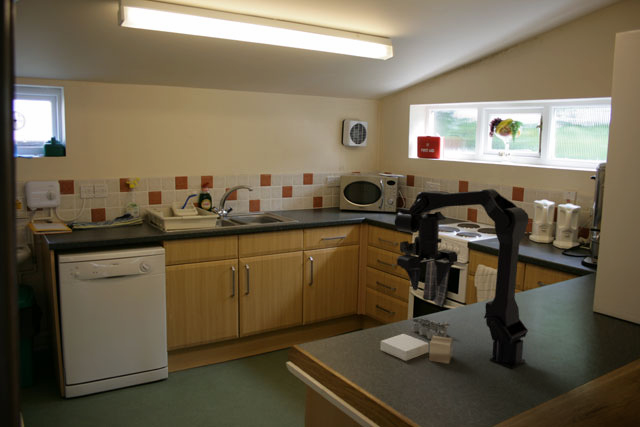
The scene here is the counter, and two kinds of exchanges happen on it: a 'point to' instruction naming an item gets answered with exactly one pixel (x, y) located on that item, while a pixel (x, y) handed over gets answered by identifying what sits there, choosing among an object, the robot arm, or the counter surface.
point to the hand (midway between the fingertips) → (427, 287)
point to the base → (404, 346)
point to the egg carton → (424, 324)
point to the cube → (440, 349)
